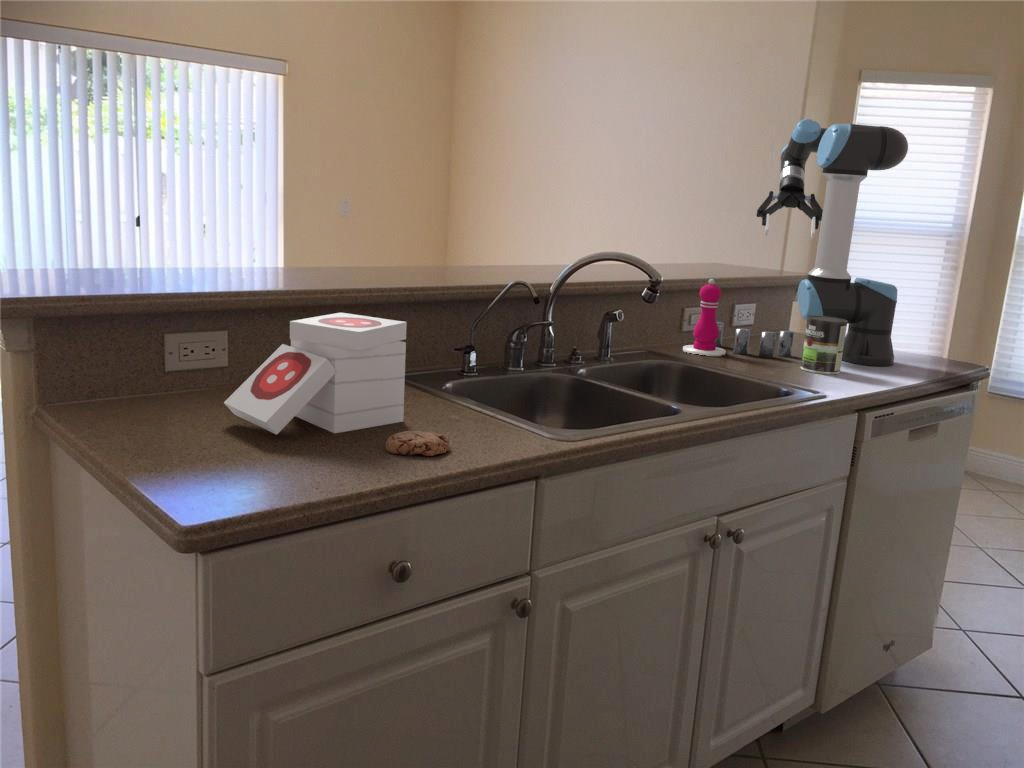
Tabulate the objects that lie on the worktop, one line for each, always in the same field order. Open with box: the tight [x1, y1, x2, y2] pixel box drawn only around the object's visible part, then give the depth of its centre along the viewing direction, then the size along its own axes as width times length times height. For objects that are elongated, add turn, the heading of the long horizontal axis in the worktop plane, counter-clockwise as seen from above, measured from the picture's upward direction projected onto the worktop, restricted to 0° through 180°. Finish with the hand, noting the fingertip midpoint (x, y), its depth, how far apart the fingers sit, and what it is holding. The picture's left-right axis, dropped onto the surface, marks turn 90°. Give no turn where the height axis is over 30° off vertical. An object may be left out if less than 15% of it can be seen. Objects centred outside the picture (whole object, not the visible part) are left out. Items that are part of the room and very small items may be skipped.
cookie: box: [385, 430, 451, 457], centre depth 149 cm, size 10×11×3 cm
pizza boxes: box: [223, 312, 408, 435], centre depth 159 cm, size 19×30×18 cm, turn 134°
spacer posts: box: [714, 321, 795, 359], centre depth 261 cm, size 20×18×7 cm
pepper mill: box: [692, 278, 722, 351], centre depth 253 cm, size 7×7×20 cm
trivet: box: [682, 344, 727, 357], centre depth 256 cm, size 12×12×1 cm
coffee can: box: [799, 316, 849, 376], centre depth 237 cm, size 10×10×14 cm
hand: (789, 234), depth 272 cm, fingers open, 13 cm apart
